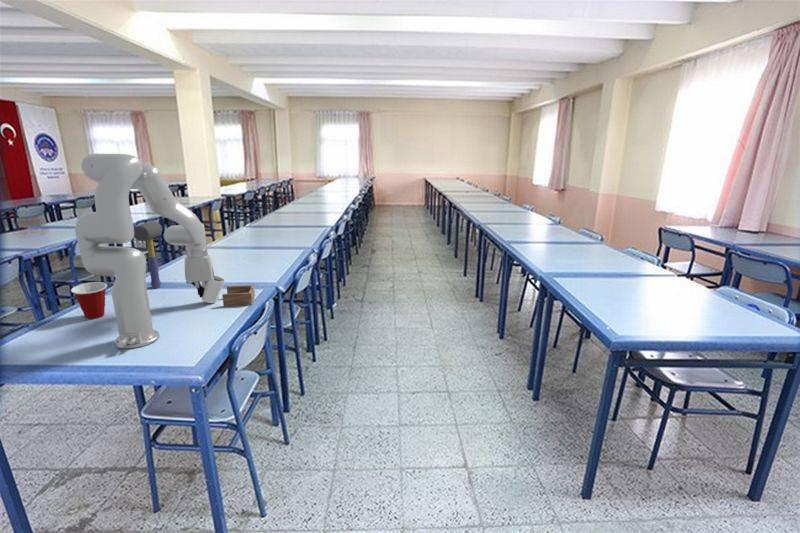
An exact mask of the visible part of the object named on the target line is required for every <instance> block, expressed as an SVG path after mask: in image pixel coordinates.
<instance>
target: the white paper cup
mask: <svg viewBox="0 0 800 533" xmlns="http://www.w3.org/2000/svg"><path fill="white" fill-rule="evenodd" d="M214 279H215V280H212V279H210V281H207V282H206V286H205V289H204V293H203V297H201V300H202V301H203V302H205V303H206V304H207V303H208V304H216V303H217V301H218V299H219V295H220V294H221V292H222V289H223V286H224V283H225V279H224V278H223V277H221V276H218V275H215V274H214Z"/></svg>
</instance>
